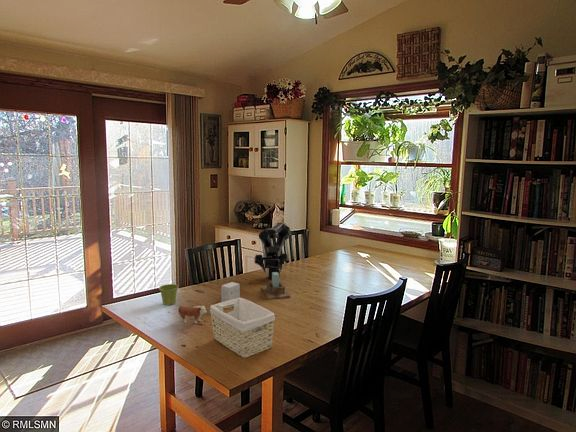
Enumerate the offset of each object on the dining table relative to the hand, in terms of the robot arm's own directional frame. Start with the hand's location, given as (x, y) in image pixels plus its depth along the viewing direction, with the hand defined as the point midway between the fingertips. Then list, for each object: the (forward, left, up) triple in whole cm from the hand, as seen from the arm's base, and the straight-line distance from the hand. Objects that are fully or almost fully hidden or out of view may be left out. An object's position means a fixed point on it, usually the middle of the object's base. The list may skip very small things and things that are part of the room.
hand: (273, 271), depth 228 cm
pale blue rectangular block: (+1, -8, -9) cm, 12 cm away
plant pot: (-54, -20, -10) cm, 59 cm away
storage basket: (-17, -68, -11) cm, 71 cm away
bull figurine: (-39, -45, -10) cm, 60 cm away
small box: (-23, -24, -10) cm, 35 cm away
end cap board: (+1, -8, -10) cm, 13 cm away
